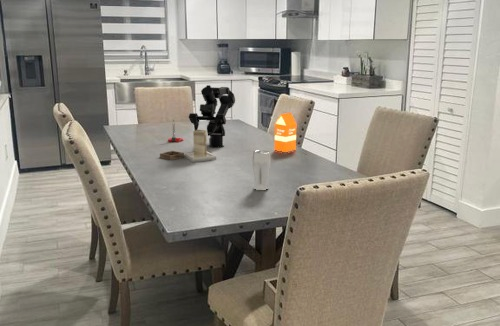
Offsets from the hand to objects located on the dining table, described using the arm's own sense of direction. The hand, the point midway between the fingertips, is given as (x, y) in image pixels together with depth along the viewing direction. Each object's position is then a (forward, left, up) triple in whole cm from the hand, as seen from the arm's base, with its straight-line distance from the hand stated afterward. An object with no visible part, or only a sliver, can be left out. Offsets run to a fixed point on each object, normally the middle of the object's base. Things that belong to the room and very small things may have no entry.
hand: (203, 132), depth 244 cm
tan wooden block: (+4, +6, -11) cm, 13 cm away
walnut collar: (+16, -2, -12) cm, 20 cm away
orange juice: (-43, +9, -12) cm, 45 cm away
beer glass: (+1, +64, -12) cm, 65 cm away
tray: (+4, +6, -12) cm, 14 cm away
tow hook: (+1, -41, -12) cm, 43 cm away
